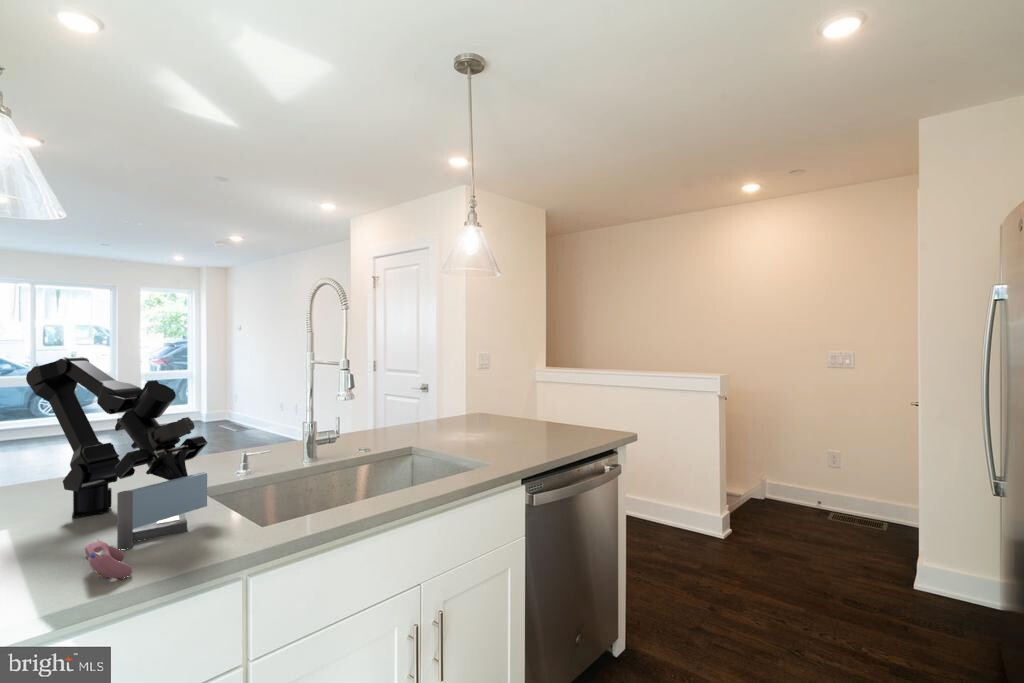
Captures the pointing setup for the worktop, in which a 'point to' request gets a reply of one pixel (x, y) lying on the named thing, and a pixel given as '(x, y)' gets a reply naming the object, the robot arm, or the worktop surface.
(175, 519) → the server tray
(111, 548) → the video game controller
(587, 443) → the worktop surface
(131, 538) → the light blue flat slab
